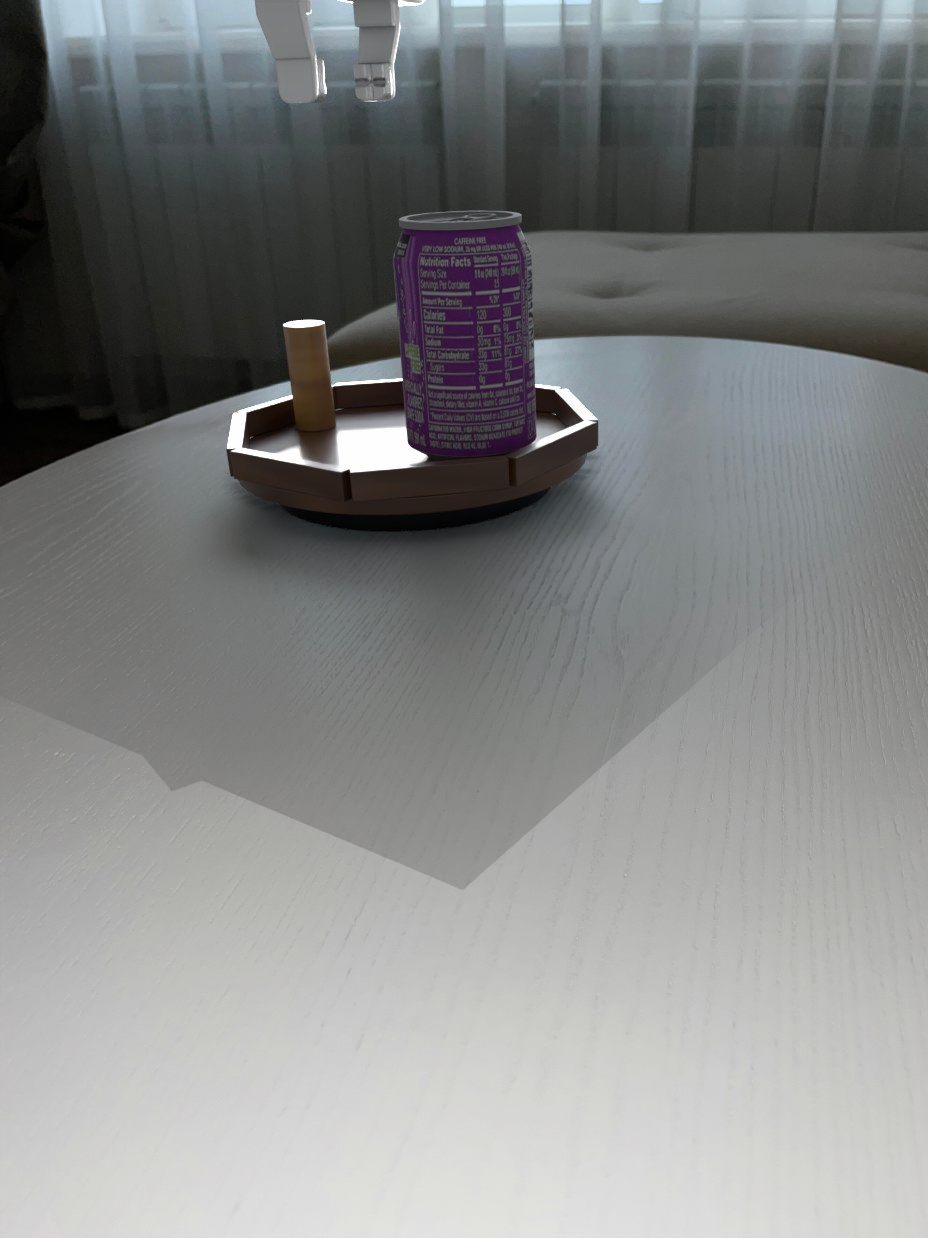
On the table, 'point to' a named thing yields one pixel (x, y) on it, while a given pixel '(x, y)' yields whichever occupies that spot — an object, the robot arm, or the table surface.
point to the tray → (385, 445)
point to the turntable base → (416, 517)
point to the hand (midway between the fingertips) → (342, 102)
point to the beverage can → (466, 333)
